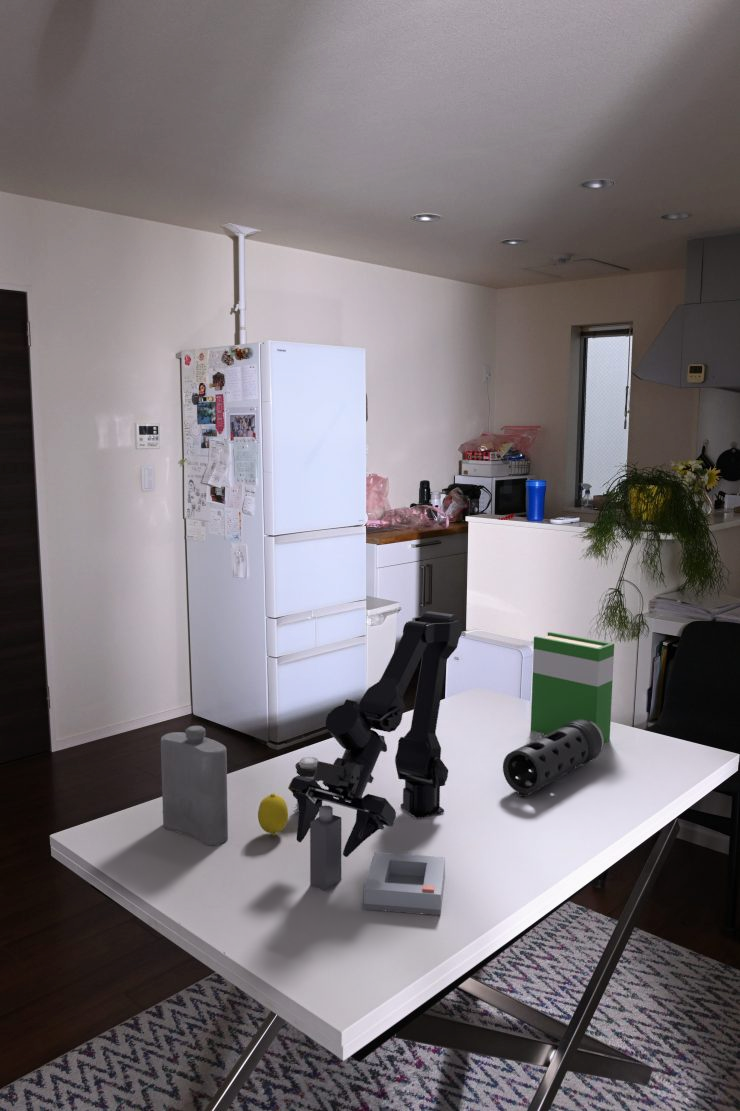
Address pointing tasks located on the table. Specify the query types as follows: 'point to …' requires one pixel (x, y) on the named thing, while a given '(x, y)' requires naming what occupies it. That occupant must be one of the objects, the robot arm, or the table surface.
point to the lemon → (273, 814)
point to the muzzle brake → (552, 756)
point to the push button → (306, 771)
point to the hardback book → (571, 682)
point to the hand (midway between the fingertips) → (321, 848)
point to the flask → (195, 785)
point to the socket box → (405, 883)
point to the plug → (325, 849)
